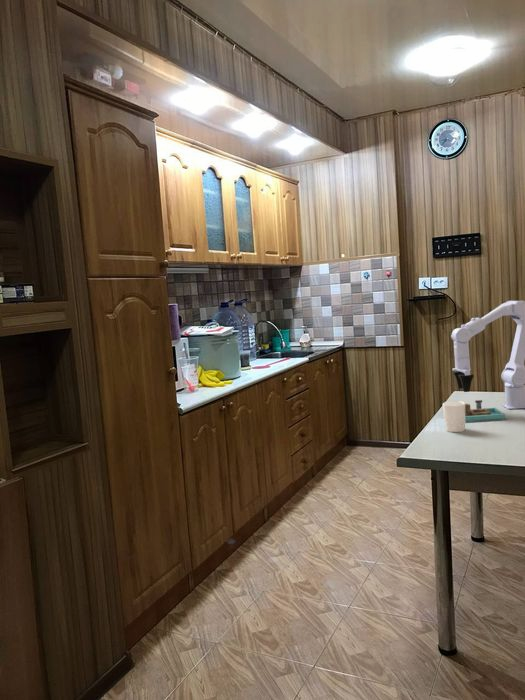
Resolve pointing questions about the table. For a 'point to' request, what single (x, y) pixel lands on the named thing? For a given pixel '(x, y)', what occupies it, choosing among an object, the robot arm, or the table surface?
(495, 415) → the tray
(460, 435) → the table surface
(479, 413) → the collar
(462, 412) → the white cup
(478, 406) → the stake
